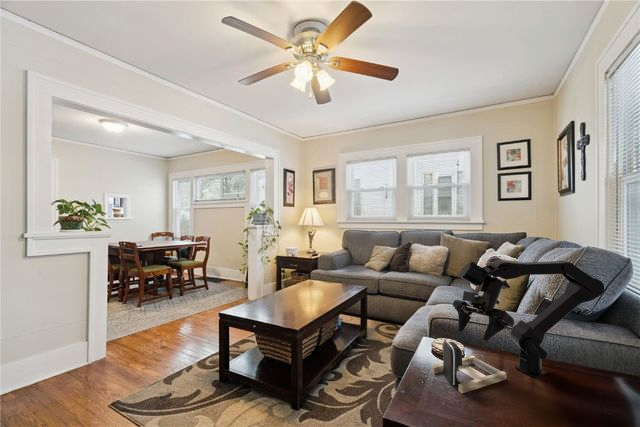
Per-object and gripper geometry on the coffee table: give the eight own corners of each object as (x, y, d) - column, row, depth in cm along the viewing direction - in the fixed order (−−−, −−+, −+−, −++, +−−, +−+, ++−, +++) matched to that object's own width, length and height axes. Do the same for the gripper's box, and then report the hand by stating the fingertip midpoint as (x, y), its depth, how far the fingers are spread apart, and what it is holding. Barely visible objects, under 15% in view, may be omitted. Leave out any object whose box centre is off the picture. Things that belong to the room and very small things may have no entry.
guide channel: (472, 361, 105) (472, 355, 105) (506, 379, 94) (506, 373, 94) (431, 372, 98) (431, 366, 98) (461, 393, 87) (461, 386, 87)
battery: (463, 386, 90) (463, 349, 90) (451, 386, 90) (451, 349, 90) (454, 374, 97) (454, 339, 97) (442, 373, 97) (442, 339, 97)
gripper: (451, 277, 106) (433, 316, 101) (501, 284, 89) (483, 332, 84) (470, 293, 109) (453, 332, 104) (522, 303, 92) (505, 350, 87)
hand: (471, 335), depth 95 cm, fingers open, 9 cm apart
